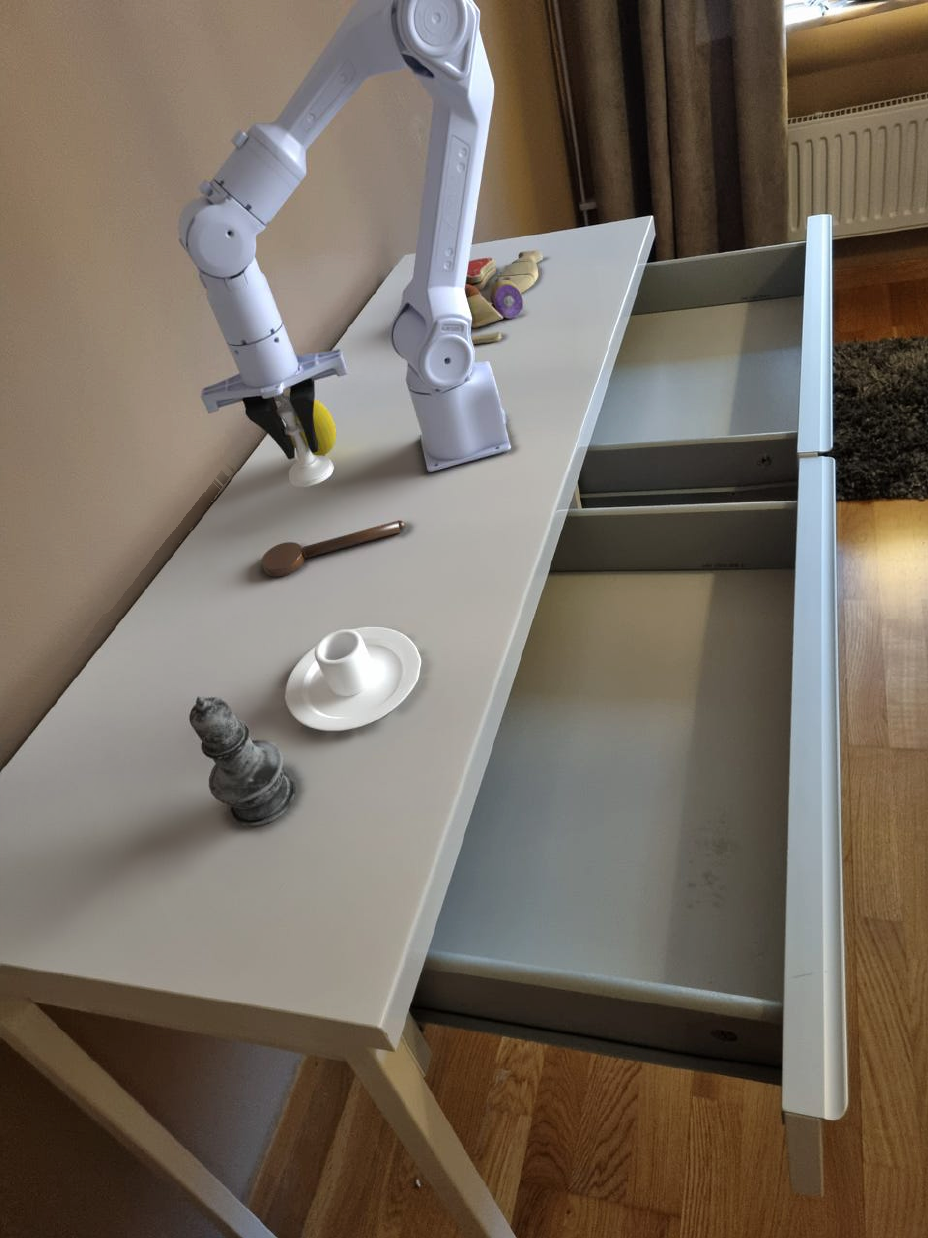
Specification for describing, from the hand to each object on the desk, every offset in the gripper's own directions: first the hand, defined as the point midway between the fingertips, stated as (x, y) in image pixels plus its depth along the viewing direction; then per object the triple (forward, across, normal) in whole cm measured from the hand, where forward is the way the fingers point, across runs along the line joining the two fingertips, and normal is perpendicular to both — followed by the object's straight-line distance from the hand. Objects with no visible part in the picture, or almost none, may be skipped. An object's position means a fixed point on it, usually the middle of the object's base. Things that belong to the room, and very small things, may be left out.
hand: (303, 450), depth 94 cm
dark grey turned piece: (+7, -6, -39) cm, 40 cm away
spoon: (+7, 0, -9) cm, 11 cm away
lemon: (+7, 0, +10) cm, 12 cm away
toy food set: (+7, +24, +41) cm, 48 cm away
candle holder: (+7, +2, -29) cm, 30 cm away
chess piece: (+3, 0, 0) cm, 3 cm away
